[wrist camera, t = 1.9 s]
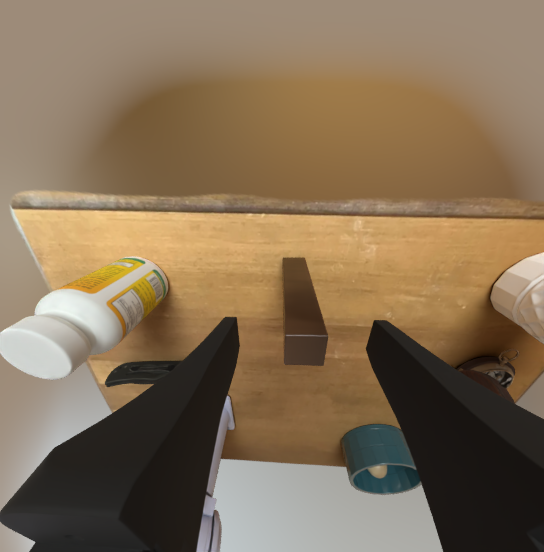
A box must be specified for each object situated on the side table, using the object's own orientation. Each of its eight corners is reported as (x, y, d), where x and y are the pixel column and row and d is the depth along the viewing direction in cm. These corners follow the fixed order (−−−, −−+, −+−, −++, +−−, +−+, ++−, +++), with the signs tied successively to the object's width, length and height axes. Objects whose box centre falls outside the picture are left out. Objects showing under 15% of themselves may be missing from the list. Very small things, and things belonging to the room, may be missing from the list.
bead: (360, 456, 32) (367, 481, 30) (364, 447, 31) (372, 472, 28) (379, 457, 32) (388, 482, 29) (383, 448, 31) (393, 473, 28)
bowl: (337, 455, 34) (344, 492, 30) (346, 422, 29) (357, 461, 25) (396, 458, 33) (412, 496, 29) (415, 425, 29) (437, 465, 25)
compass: (485, 392, 25) (558, 467, 18) (426, 382, 25) (478, 456, 18) (533, 347, 21) (644, 421, 15) (465, 335, 21) (547, 406, 15)
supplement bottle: (180, 279, 19) (99, 359, 11) (153, 310, 21) (67, 399, 13) (130, 242, 18) (-10, 301, 9) (106, 279, 20) (-28, 356, 11)
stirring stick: (282, 276, 19) (284, 365, 10) (282, 257, 18) (284, 335, 9) (303, 277, 19) (324, 366, 10) (304, 257, 18) (328, 336, 9)
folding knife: (122, 366, 26) (104, 388, 23) (118, 359, 25) (98, 381, 22) (194, 364, 25) (183, 387, 22) (191, 357, 24) (180, 379, 22)
